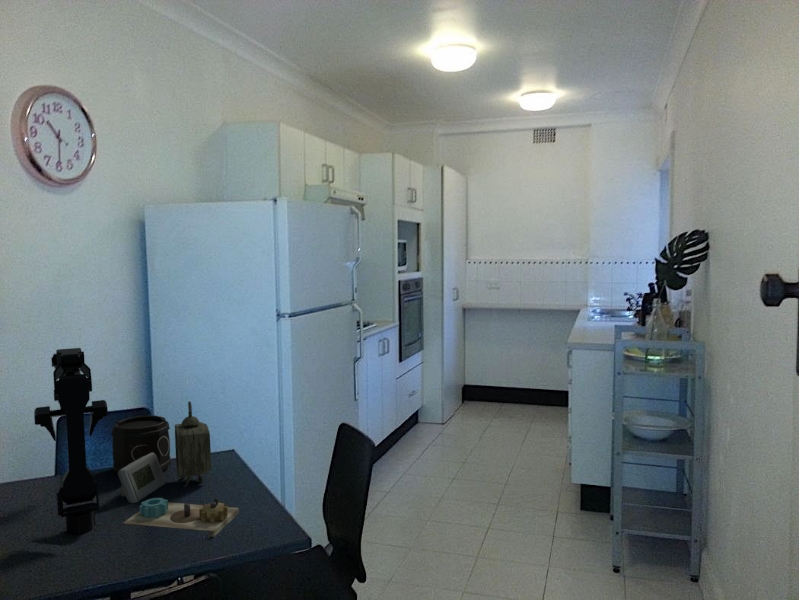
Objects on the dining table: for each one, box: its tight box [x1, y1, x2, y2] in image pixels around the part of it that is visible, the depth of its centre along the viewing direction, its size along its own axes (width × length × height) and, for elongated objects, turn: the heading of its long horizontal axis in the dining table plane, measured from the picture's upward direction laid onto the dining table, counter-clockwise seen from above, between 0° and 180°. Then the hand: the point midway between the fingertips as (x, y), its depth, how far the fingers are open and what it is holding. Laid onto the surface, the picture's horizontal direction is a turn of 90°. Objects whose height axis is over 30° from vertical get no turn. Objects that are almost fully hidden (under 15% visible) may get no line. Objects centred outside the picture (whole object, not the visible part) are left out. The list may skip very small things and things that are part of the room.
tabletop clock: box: [174, 401, 212, 487], centre depth 192 cm, size 14×9×25 cm, turn 23°
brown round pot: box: [110, 415, 172, 477], centre depth 204 cm, size 18×18×16 cm
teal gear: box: [139, 497, 169, 518], centre depth 168 cm, size 7×7×3 cm
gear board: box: [122, 497, 240, 538], centre depth 166 cm, size 14×25×6 cm, turn 79°
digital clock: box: [118, 453, 167, 504], centre depth 182 cm, size 16×9×11 cm, turn 157°
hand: (72, 437), depth 187 cm, fingers open, 9 cm apart
